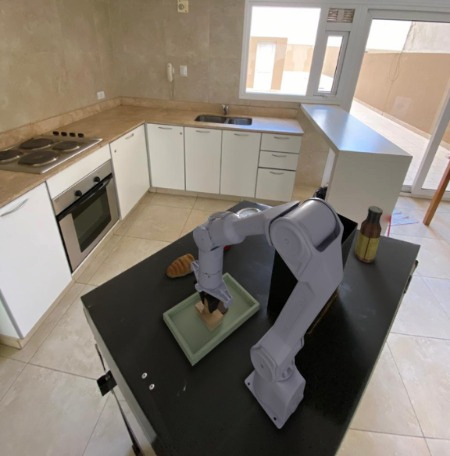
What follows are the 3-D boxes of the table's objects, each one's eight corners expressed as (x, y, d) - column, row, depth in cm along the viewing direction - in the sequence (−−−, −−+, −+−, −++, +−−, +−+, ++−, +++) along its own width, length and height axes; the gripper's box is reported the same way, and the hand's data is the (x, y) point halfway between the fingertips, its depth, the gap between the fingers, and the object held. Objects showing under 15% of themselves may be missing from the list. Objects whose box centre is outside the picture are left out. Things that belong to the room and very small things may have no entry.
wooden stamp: (222, 322, 65) (224, 298, 62) (210, 332, 62) (211, 307, 59) (206, 303, 70) (207, 279, 67) (194, 311, 67) (194, 287, 64)
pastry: (172, 284, 75) (172, 274, 74) (162, 270, 80) (162, 261, 79) (199, 269, 81) (199, 260, 80) (188, 257, 86) (188, 248, 84)
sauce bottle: (374, 255, 90) (389, 208, 83) (372, 266, 85) (389, 217, 78) (354, 248, 94) (367, 201, 86) (351, 258, 89) (365, 210, 81)
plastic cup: (223, 231, 99) (224, 205, 95) (243, 246, 92) (245, 219, 87) (201, 244, 92) (201, 216, 88) (220, 261, 85) (222, 232, 80)
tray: (259, 310, 69) (259, 303, 68) (192, 367, 56) (192, 360, 55) (226, 278, 78) (227, 272, 77) (163, 320, 65) (162, 313, 64)
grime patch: (231, 308, 69) (231, 306, 68) (219, 318, 66) (219, 316, 66) (221, 297, 72) (221, 295, 71) (209, 306, 69) (209, 304, 69)
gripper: (179, 255, 62) (181, 295, 67) (216, 295, 52) (214, 339, 57) (203, 243, 67) (202, 281, 72) (240, 278, 57) (237, 320, 62)
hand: (209, 306), depth 65 cm, fingers closed on wooden stamp, 2 cm apart
